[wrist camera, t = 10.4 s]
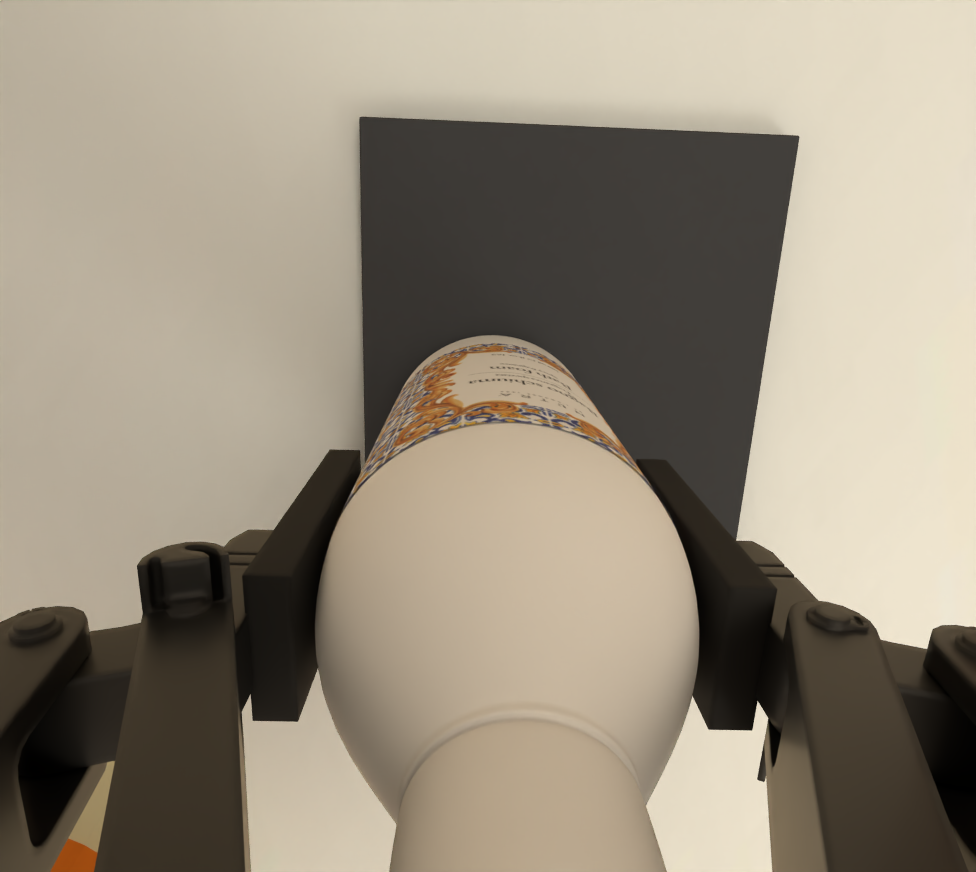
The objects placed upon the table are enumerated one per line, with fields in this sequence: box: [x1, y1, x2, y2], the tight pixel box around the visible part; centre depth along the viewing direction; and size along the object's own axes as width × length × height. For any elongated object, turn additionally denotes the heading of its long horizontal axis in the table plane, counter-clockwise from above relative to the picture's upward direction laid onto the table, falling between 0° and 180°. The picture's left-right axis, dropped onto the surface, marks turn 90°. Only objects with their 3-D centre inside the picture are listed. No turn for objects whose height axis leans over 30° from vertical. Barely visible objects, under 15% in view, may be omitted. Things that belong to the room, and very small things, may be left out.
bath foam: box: [315, 335, 699, 872], centre depth 14 cm, size 7×7×20 cm
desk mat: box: [359, 117, 799, 540], centre depth 24 cm, size 20×14×1 cm
